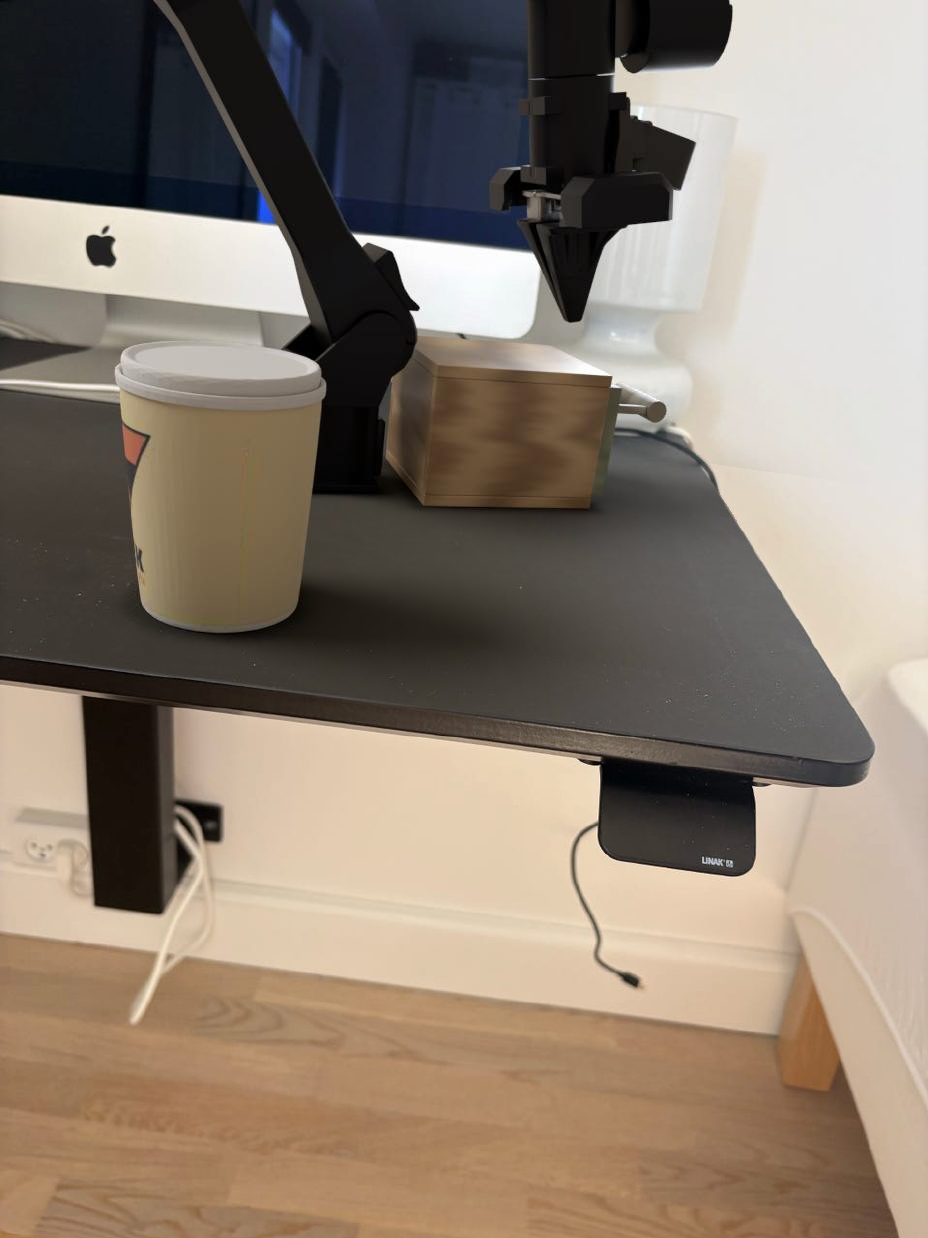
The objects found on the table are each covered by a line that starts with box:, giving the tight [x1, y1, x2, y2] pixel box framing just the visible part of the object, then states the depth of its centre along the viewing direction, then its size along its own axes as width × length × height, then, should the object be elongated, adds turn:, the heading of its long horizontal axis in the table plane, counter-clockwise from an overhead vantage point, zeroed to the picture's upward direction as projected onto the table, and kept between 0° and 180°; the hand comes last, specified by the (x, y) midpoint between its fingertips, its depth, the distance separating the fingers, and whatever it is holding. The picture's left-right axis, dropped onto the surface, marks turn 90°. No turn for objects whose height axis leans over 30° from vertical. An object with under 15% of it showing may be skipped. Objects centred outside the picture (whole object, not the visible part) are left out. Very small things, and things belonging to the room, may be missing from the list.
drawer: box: [592, 382, 668, 495], centre depth 73 cm, size 16×10×8 cm, turn 107°
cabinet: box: [385, 335, 613, 509], centre depth 71 cm, size 13×12×10 cm
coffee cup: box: [114, 340, 326, 634], centre depth 46 cm, size 9×9×12 cm
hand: (572, 321), depth 71 cm, fingers closed
